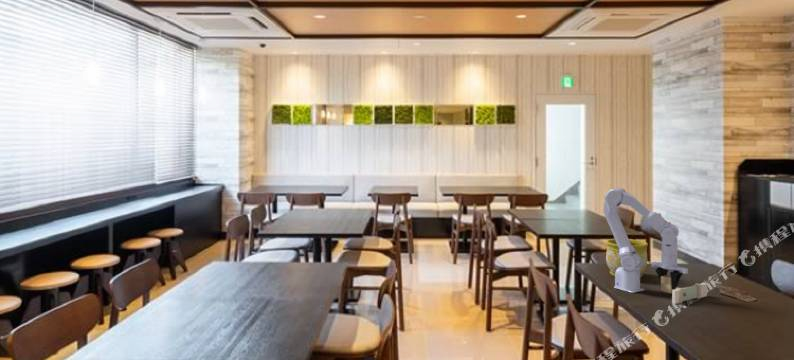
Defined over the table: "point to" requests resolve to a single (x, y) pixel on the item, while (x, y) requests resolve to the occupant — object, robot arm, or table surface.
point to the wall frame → (678, 292)
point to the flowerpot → (615, 259)
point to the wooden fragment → (735, 293)
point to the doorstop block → (666, 284)
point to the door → (689, 293)
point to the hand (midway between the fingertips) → (668, 287)
